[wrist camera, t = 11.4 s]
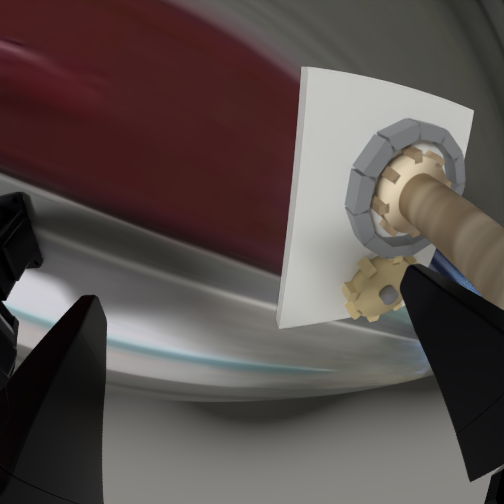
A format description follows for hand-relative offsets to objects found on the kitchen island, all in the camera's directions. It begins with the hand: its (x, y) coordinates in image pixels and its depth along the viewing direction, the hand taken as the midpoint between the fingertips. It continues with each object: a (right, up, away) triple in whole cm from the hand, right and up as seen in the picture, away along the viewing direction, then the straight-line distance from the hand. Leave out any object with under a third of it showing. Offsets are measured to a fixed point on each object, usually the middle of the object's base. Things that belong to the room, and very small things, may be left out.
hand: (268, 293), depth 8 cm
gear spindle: (+12, +6, +13) cm, 19 cm away
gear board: (+10, +4, +16) cm, 19 cm away
